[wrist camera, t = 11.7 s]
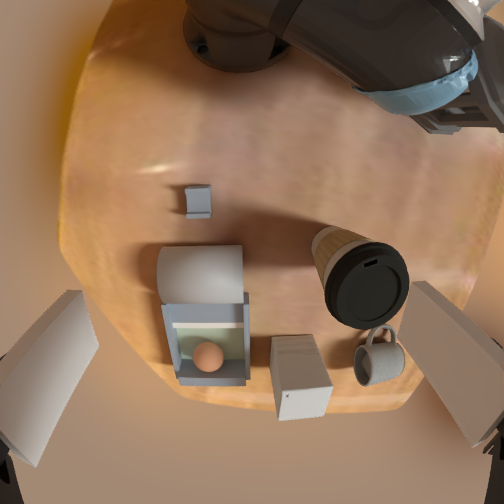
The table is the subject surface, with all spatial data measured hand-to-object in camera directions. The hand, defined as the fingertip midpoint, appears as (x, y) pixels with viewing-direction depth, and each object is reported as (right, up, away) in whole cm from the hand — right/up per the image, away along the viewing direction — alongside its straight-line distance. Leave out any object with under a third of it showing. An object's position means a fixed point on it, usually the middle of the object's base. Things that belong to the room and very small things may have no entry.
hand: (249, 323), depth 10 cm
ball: (-7, -14, +32) cm, 36 cm away
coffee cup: (+12, +3, +30) cm, 32 cm away
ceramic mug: (+23, -15, +37) cm, 46 cm away
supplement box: (+7, -15, +36) cm, 40 cm away
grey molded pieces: (-7, -3, +33) cm, 34 cm away
